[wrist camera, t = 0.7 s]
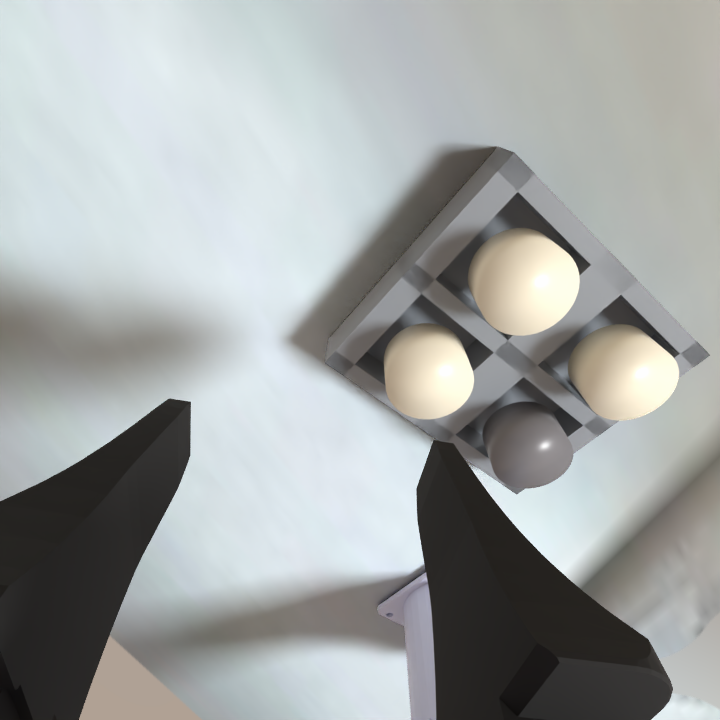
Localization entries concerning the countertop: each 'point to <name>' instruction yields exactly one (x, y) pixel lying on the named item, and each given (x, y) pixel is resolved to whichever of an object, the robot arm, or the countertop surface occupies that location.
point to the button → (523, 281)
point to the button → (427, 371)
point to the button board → (480, 340)
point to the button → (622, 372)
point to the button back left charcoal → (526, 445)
